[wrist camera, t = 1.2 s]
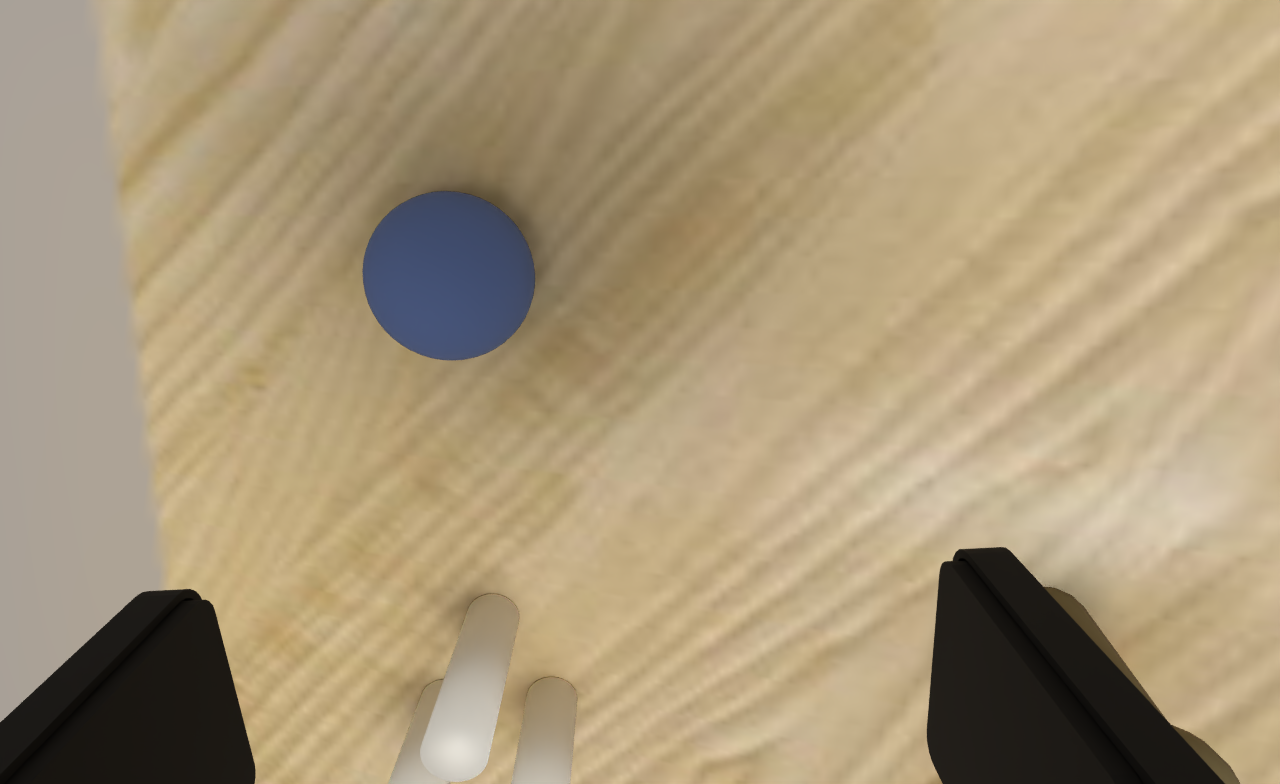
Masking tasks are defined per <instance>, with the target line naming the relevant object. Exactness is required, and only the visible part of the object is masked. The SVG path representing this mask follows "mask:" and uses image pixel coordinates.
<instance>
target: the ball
mask: <svg viewBox="0 0 1280 784" xmlns="http://www.w3.org/2000/svg"><path fill="white" fill-rule="evenodd" d="M363 283H364V289H365V294H366V297H367V300H368V304H369V306H370V308H371V310H372V312H373V314H374V316H375V317H376V319H377V321H378V322H379V323H380V325H381V326H382V327H383V328H384V330H385V331H386V332H387V333H388V334H389V335H390V336H391V337H392V338H393V339H395V340H396V341H397V342H399V343H400V344H401V345H403V346H404V347H406V348H408V349H409V350H411V351H414V352H416V353H418V354H420V355H423V356H427V357H430V358H434V359H440V360H464V359H469V358H474V357H477V356H480V355H483V354H486V353H488V352H490V351H492V350H494V349H496V348H497V347H498V346H500V345H501V344H503V343H504V342H505V341H506V340H507V339H509V338H510V337H511V336H512V335H513V334H514V333H515V331H516V330H517V329H518V328H519V327H520V325H521V324H522V322H523V320H524V319H525V317H526V315H527V313H528V310H529V308H530V305H531V302H532V298H533V294H534V287H535V270H534V263H533V259H532V255H531V252H530V249H529V247H528V244H527V242H526V240H525V238H524V236H523V234H522V233H521V231H520V230H519V229H518V227H517V226H516V224H515V223H514V222H513V221H512V220H511V219H510V218H509V217H508V216H507V215H506V214H505V213H504V212H502V211H501V210H500V209H499V208H497V207H496V206H494V205H493V204H491V203H489V202H487V201H485V200H483V199H481V198H479V197H476V196H473V195H470V194H465V193H460V192H450V191H440V192H431V193H426V194H422V195H419V196H416V197H414V198H411V199H409V200H407V201H405V202H404V203H402V204H400V205H398V206H397V207H396V208H394V209H393V210H392V211H390V212H389V213H388V214H387V215H386V216H385V217H384V218H383V220H382V221H381V222H380V224H379V225H378V226H377V228H376V229H375V231H374V233H373V234H372V236H371V238H370V240H369V243H368V245H367V248H366V252H365V256H364V261H363Z"/></svg>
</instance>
